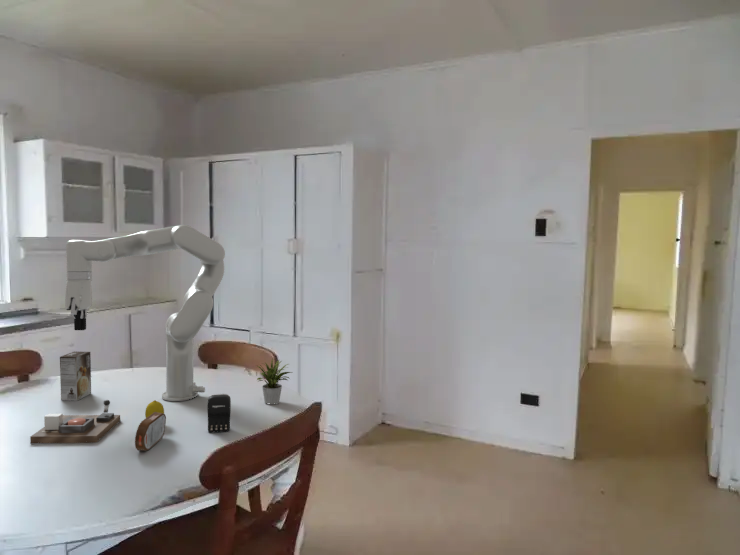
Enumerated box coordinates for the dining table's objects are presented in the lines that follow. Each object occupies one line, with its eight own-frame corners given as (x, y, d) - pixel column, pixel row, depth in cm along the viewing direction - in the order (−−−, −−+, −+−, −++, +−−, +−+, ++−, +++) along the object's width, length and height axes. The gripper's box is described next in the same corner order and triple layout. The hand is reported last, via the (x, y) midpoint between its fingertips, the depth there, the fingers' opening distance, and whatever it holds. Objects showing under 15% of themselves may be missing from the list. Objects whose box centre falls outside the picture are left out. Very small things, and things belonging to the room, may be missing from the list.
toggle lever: (109, 412, 165) (111, 399, 166) (107, 412, 163) (109, 399, 164) (103, 412, 165) (105, 400, 166) (101, 412, 163) (103, 399, 164)
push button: (88, 424, 158) (88, 418, 158) (81, 430, 154) (81, 423, 153) (72, 424, 158) (72, 418, 158) (65, 430, 153) (64, 423, 153)
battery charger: (206, 434, 159) (206, 397, 158) (207, 429, 163) (207, 393, 162) (230, 433, 161) (230, 396, 160) (230, 428, 164) (231, 393, 163)
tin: (157, 435, 158) (157, 407, 157) (168, 435, 158) (168, 408, 157) (133, 455, 143) (133, 425, 142) (145, 456, 143) (144, 425, 142)
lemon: (167, 423, 167) (167, 399, 167) (155, 429, 162) (155, 404, 162) (153, 421, 169) (153, 396, 169) (141, 426, 164) (141, 401, 163)
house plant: (261, 412, 180) (262, 366, 179) (242, 402, 190) (243, 358, 189) (296, 404, 189) (297, 360, 188) (276, 395, 200) (277, 353, 198)
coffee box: (75, 393, 196) (74, 350, 195) (91, 393, 196) (91, 351, 195) (60, 400, 187) (59, 356, 186) (77, 401, 187) (77, 356, 186)
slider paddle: (62, 426, 156) (62, 413, 156) (58, 429, 154) (58, 416, 154) (48, 426, 156) (48, 413, 156) (44, 429, 154) (44, 416, 153)
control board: (120, 420, 168) (120, 408, 168) (96, 442, 151) (96, 429, 150) (61, 421, 167) (61, 409, 166) (30, 443, 149) (30, 429, 149)
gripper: (78, 274, 184) (78, 326, 186) (56, 277, 170) (57, 333, 171) (100, 275, 185) (100, 326, 186) (81, 278, 170) (81, 334, 172)
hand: (80, 329), depth 179 cm, fingers closed
